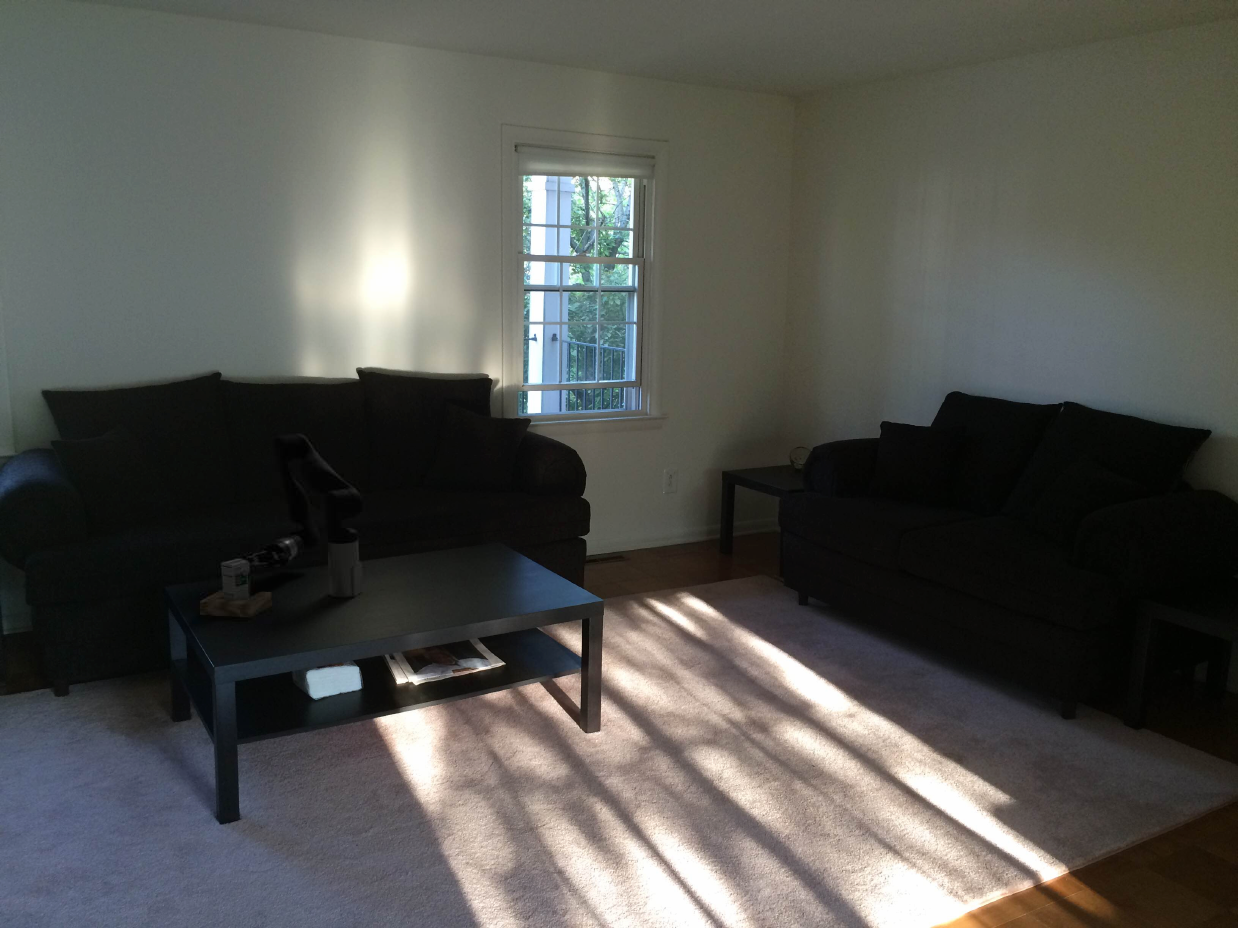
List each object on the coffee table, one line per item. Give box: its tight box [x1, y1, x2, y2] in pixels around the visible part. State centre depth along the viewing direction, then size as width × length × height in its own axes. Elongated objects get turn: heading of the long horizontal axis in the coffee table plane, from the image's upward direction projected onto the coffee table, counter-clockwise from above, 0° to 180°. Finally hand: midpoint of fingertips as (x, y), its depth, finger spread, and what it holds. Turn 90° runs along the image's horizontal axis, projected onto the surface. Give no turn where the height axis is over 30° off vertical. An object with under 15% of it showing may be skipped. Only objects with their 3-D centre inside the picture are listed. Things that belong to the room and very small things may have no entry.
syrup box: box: [220, 558, 253, 601], centre depth 294 cm, size 6×6×14 cm
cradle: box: [199, 589, 273, 619], centre depth 293 cm, size 16×12×4 cm
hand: (255, 564), depth 303 cm, fingers open, 8 cm apart
